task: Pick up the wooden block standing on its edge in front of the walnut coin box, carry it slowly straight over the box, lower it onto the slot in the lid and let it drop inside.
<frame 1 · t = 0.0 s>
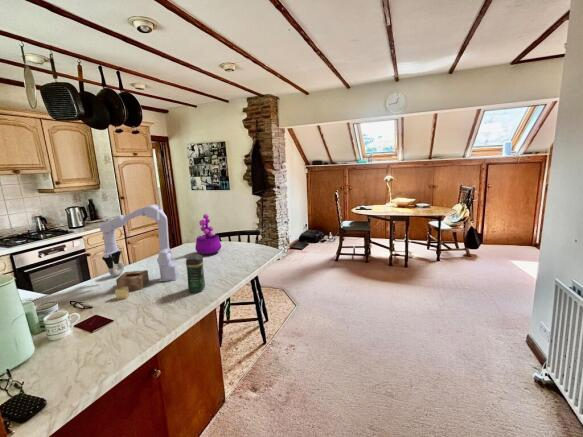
hand: (113, 266, 164), 10 cm above the kitchen island, tool pointing down, fingers open, 7 cm apart
donut: (117, 276, 177), on the kitchen island
decorative plant: (209, 253, 220), on the kitchen island
coin box: (134, 285, 161), on the kitchen island
coffee jar: (197, 289, 154), on the kitchen island
wooden block: (122, 297, 146), on the kitchen island
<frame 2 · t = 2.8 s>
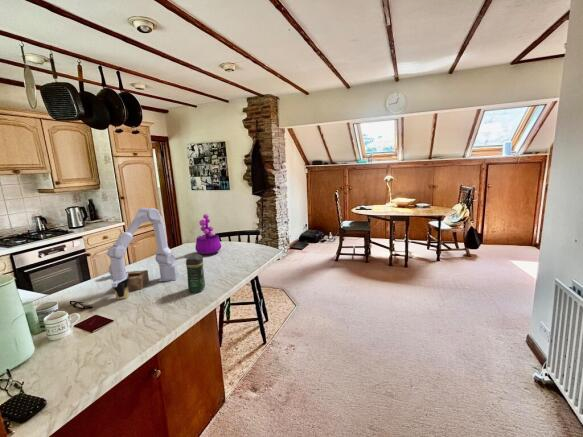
hand: (122, 295, 146), 1 cm above the kitchen island, tool pointing down, fingers closed on wooden block, 3 cm apart
wooden block: (122, 297, 146), on the kitchen island, touching gripper
everything else where it was.
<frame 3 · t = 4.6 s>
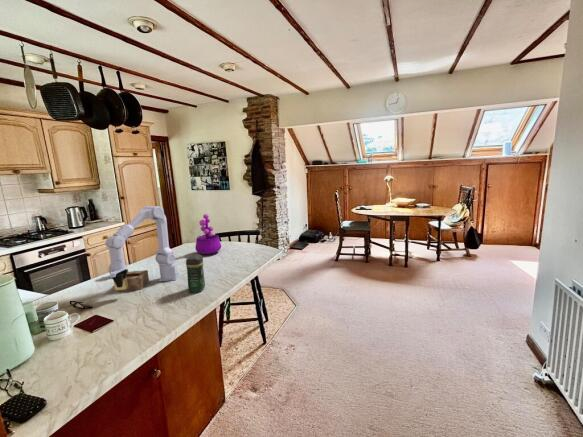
hand: (121, 285, 145), 6 cm above the kitchen island, tool pointing down, fingers closed on wooden block, 3 cm apart
wooden block: (121, 288, 146), point 5 cm above the kitchen island, touching gripper
everything else where it was.
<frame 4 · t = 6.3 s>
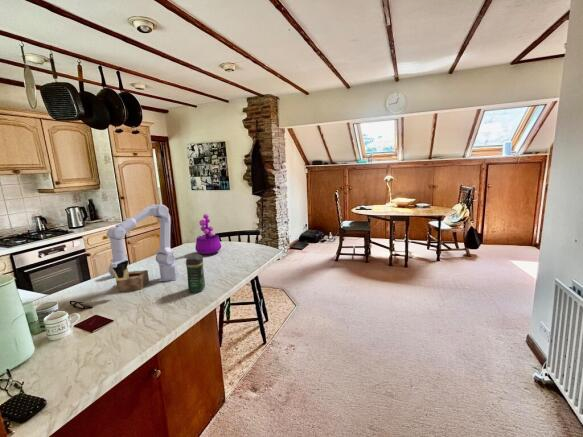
hand: (122, 276, 147), 10 cm above the kitchen island, tool pointing down, fingers closed on wooden block, 3 cm apart
wooden block: (122, 279, 147), point 9 cm above the kitchen island, touching gripper
everything else where it was.
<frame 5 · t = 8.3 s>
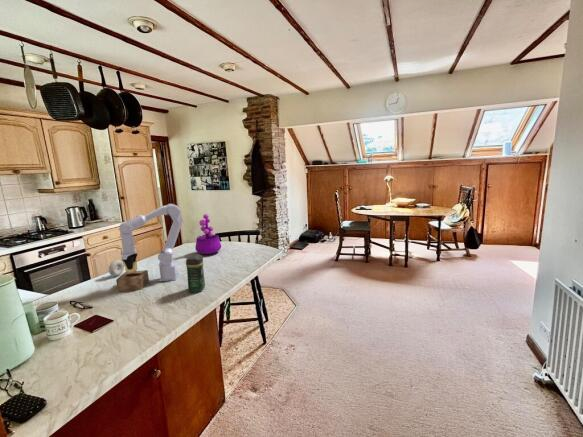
hand: (131, 268, 159), 10 cm above the kitchen island, tool pointing down, fingers closed on wooden block, 3 cm apart
wooden block: (131, 270, 159), point 9 cm above the kitchen island, touching gripper
everything else where it was.
when the fingers open (8 cm above the kitchen island, at t = 9.8 s): wooden block drops 7 cm, resting in coin box.
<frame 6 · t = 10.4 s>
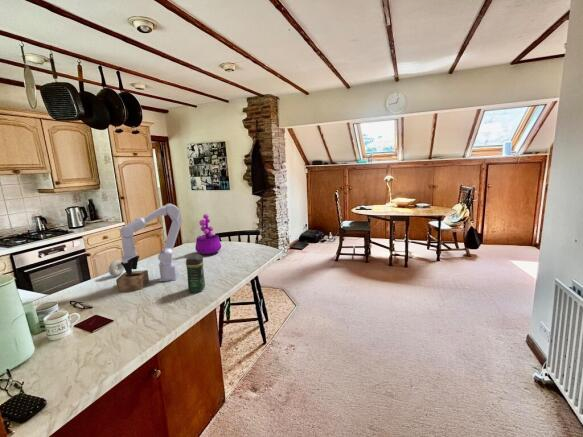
hand: (132, 271, 159), 8 cm above the kitchen island, tool pointing down, fingers open, 7 cm apart
wooden block: (133, 286, 161), resting in coin box
everything else where it was.
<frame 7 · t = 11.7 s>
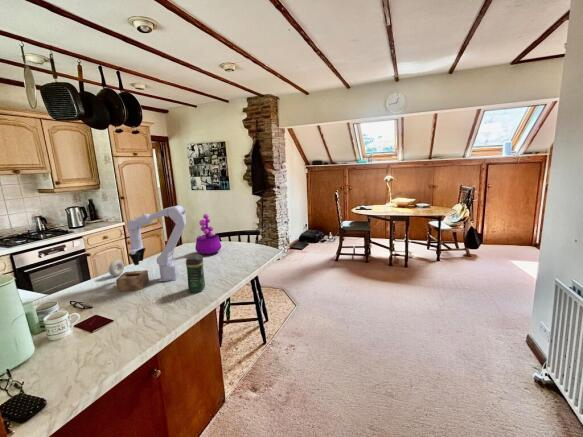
hand: (138, 262, 168), 10 cm above the kitchen island, tool pointing down, fingers open, 7 cm apart
nothing on the kitchen island moved.
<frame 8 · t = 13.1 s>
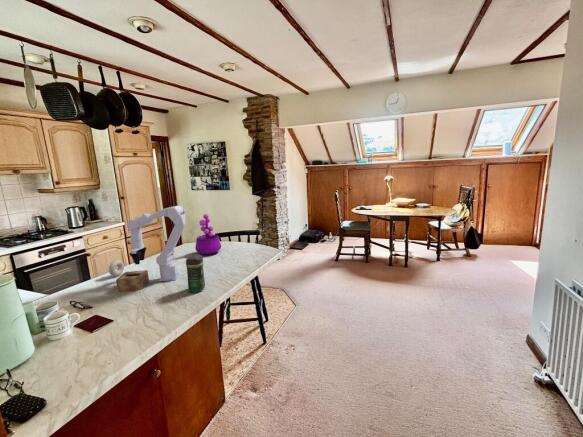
hand: (139, 262, 169), 10 cm above the kitchen island, tool pointing down, fingers open, 7 cm apart
nothing on the kitchen island moved.
at the end: wooden block inside the target area on the coin box (0.1 cm from its centre), point 0.0 cm above the coin box's base; the gripper is holding nothing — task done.
